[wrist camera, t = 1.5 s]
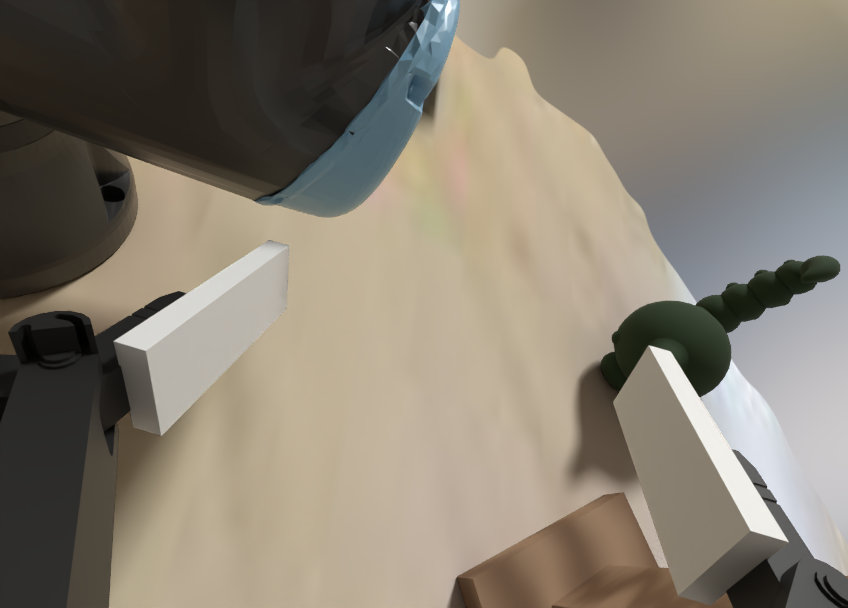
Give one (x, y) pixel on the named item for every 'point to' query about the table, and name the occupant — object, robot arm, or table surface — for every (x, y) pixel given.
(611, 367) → the dark green knobbed ball
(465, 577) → the tall stand
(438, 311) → the table surface
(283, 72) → the robot arm
